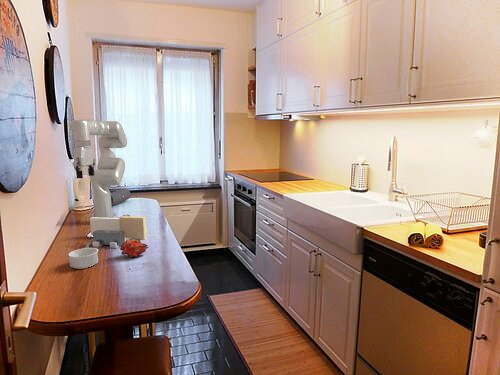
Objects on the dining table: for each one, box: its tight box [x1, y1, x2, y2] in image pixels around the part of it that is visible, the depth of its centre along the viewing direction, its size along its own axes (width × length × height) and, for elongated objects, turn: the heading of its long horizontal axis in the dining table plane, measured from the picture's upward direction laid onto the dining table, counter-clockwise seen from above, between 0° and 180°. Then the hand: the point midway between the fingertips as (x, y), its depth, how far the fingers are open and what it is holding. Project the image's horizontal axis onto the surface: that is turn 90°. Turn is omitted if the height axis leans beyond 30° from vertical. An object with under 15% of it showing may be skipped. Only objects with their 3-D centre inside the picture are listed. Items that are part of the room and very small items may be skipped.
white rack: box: [89, 215, 148, 249], centre depth 182 cm, size 18×30×11 cm, turn 78°
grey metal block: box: [92, 230, 125, 246], centre depth 178 cm, size 4×14×6 cm, turn 81°
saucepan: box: [67, 241, 99, 270], centre depth 157 cm, size 12×20×6 cm, turn 15°
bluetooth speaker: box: [110, 188, 132, 207], centre depth 272 cm, size 23×9×10 cm, turn 167°
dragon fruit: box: [119, 239, 149, 259], centre depth 162 cm, size 8×8×12 cm
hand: (85, 176), depth 195 cm, fingers open, 9 cm apart
